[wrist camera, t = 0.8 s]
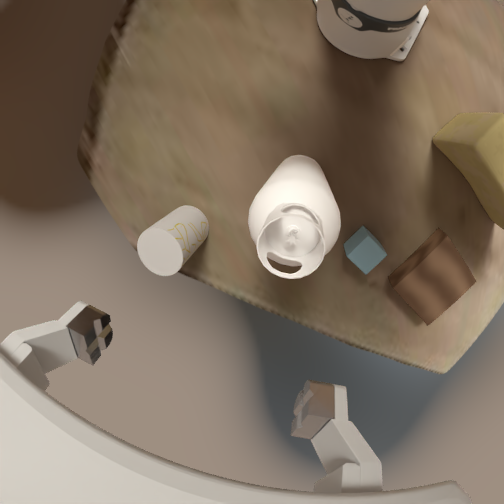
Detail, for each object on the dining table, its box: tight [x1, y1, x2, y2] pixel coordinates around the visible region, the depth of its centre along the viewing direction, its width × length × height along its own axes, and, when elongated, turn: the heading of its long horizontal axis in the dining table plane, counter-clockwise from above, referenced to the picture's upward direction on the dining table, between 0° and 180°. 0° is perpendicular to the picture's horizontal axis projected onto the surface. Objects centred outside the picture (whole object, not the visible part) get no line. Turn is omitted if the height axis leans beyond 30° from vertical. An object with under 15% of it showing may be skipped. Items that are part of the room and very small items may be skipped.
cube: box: [343, 226, 387, 274], centre depth 44 cm, size 5×5×5 cm
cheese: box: [433, 112, 504, 229], centre depth 29 cm, size 22×10×15 cm, turn 45°
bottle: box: [248, 155, 341, 279], centre depth 31 cm, size 8×8×28 cm
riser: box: [388, 228, 476, 325], centre depth 44 cm, size 14×14×4 cm
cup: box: [137, 206, 209, 276], centre depth 46 cm, size 8×8×12 cm
